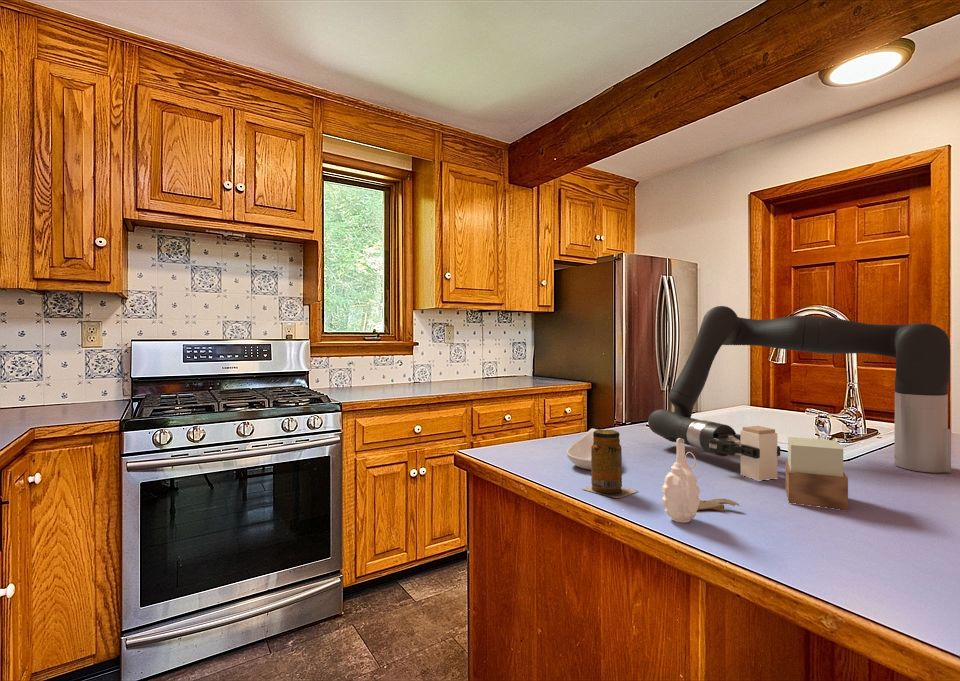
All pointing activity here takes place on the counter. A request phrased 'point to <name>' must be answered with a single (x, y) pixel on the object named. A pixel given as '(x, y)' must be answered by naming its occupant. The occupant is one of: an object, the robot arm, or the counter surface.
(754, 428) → the tea tin
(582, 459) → the spoon rest
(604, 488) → the condiment
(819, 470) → the middle block
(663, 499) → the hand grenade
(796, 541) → the counter surface
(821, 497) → the bottom block
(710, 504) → the jawbone
